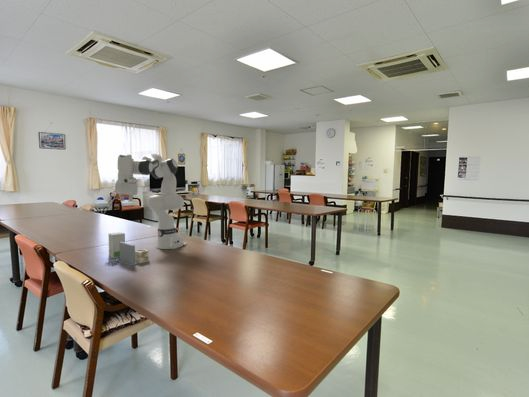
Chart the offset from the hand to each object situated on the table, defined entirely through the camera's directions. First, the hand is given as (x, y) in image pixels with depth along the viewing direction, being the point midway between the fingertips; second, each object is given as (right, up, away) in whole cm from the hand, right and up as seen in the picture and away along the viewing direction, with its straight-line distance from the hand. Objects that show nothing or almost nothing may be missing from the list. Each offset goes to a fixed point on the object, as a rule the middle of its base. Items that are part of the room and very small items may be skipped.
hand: (126, 201), depth 185 cm
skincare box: (-8, -37, +5) cm, 38 cm away
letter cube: (+11, -37, -3) cm, 39 cm away
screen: (+4, -38, -7) cm, 39 cm away
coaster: (+11, -38, -3) cm, 40 cm away
